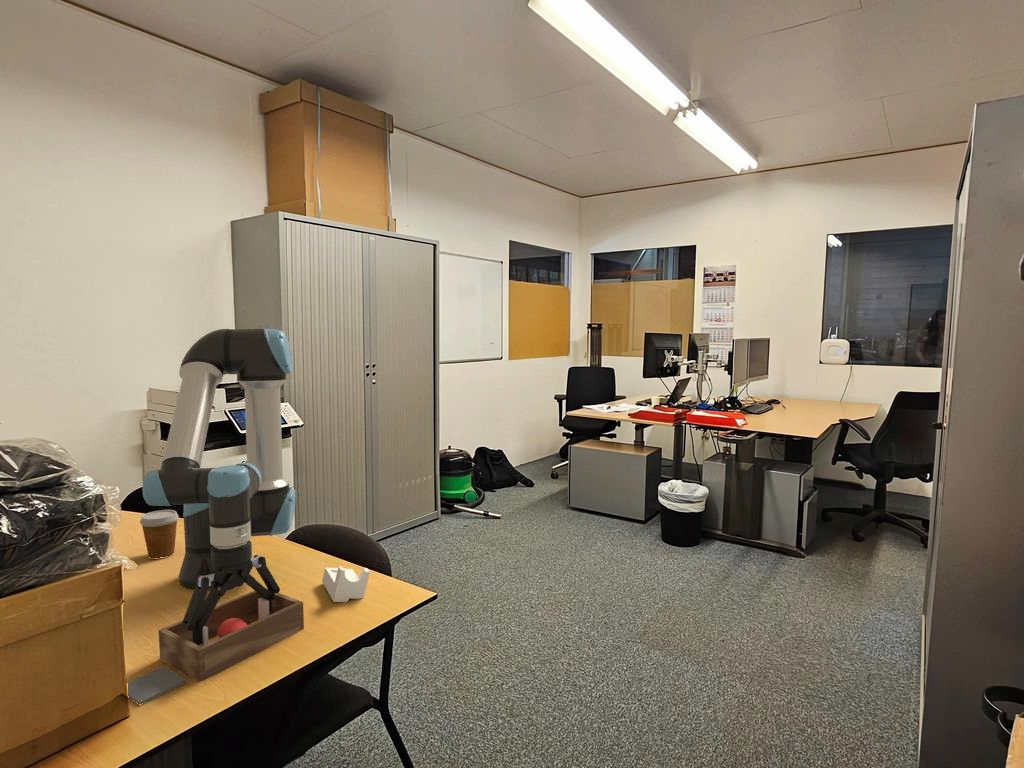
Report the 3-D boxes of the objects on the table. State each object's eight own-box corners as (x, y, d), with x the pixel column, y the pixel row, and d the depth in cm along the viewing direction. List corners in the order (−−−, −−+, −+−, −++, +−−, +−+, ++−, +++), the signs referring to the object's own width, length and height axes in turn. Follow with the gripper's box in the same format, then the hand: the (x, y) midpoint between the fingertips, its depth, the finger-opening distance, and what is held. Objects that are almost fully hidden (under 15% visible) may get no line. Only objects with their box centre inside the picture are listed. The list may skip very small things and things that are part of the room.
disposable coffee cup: (187, 553, 171) (185, 512, 170) (152, 564, 163) (150, 521, 162) (169, 546, 176) (167, 507, 175) (135, 557, 168) (132, 516, 167)
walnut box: (160, 659, 116) (158, 630, 116) (263, 612, 135) (262, 586, 135) (200, 681, 109) (198, 650, 108) (303, 628, 128) (303, 602, 127)
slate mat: (117, 690, 106) (116, 687, 106) (163, 669, 113) (162, 666, 113) (139, 705, 102) (139, 702, 102) (186, 682, 108) (186, 679, 108)
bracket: (362, 602, 143) (369, 571, 143) (333, 601, 139) (341, 570, 140) (349, 582, 154) (356, 554, 154) (321, 581, 151) (329, 552, 151)
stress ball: (250, 637, 127) (236, 612, 127) (258, 639, 120) (243, 612, 120) (227, 653, 124) (212, 627, 124) (233, 656, 117) (217, 629, 117)
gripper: (179, 567, 108) (185, 678, 109) (294, 528, 129) (297, 622, 130) (157, 558, 111) (163, 665, 113) (273, 522, 133) (276, 613, 134)
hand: (235, 642), depth 122 cm, fingers open, 13 cm apart
